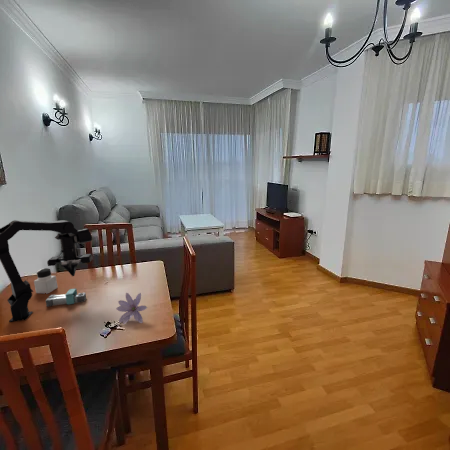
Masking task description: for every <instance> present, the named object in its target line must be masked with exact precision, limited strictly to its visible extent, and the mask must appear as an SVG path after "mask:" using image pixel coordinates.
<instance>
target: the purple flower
mask: <svg viewBox="0 0 450 450" xmlns="http://www.w3.org/2000/svg"><path fill="white" fill-rule="evenodd" d="M125 299H126V301H125V300H122V299H121V300H118V301H117V302H118V304H119V306H117V307H116V311H118V312H121V313H123V312H125V313H124V314H122V315H121V316H120V318H119V320H118V323H123V325H125V324H126V323H128V322H129V321H130V319H131V318H132V317H133V319H134V321H136V322H138V323H140V324H143V322H144V321H143V316H142V314H141V313H140V312H142V311H145V310H147V308H148V307H147V306H146V305H139V304H140V303H141V300H142V294H141V292H138V294H137V295H136V297H135V298H134V299H133V297H132V296H131V294H129V292H126V293H125Z"/></svg>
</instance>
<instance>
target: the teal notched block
mask: <svg viewBox="0 0 450 450" xmlns="http://www.w3.org/2000/svg"><path fill="white" fill-rule="evenodd" d="M77 290H78V289H77V288H70V289H68V290H67V292H66V293H65V296H66V302H67V304H66V305H74V304H76V303H75V302H74V296H73V294H77V295H78V291H77Z"/></svg>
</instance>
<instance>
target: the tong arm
mask: <svg viewBox="0 0 450 450" xmlns="http://www.w3.org/2000/svg"><path fill="white" fill-rule="evenodd" d="M65 294H66V293H65ZM65 294H50V295H49V296H48V298H55V297H64V296H65ZM73 295H78V293H77V294H73Z"/></svg>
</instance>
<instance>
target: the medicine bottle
mask: <svg viewBox="0 0 450 450" xmlns="http://www.w3.org/2000/svg"><path fill="white" fill-rule="evenodd" d="M36 275H37V279H35V280H33V284H34V289H35V293H36V294H45V293H46V294H48V295H49V294H50V293H51V292H53V291H55V290H56V289H58V287H59V286H58V281H57V275H52V272H51V269H50V268H49V267H48V268H47V267H46V268H41V269H38V270H37V271H36ZM46 294H45V295H46Z"/></svg>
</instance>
